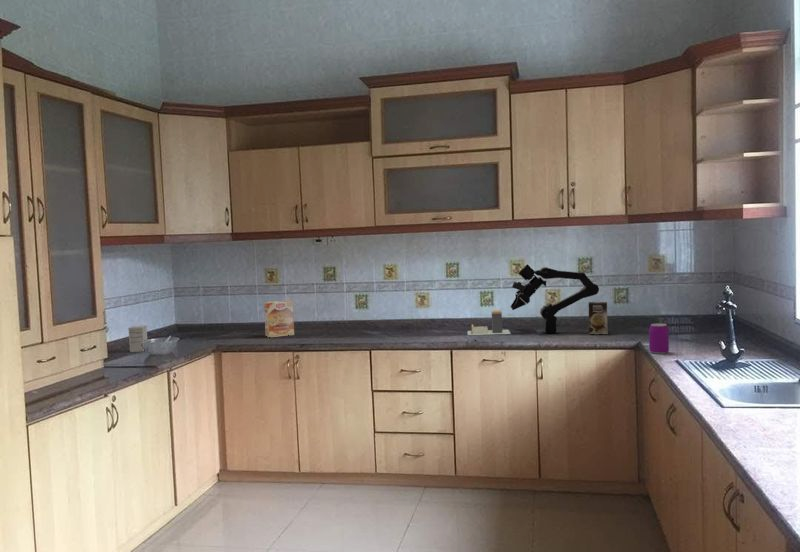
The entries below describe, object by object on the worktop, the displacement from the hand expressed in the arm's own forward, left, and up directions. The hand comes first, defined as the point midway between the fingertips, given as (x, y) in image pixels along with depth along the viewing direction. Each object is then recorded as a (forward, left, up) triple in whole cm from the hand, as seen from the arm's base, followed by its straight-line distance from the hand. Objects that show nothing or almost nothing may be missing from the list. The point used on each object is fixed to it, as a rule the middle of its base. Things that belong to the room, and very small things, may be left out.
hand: (511, 308), depth 360 cm
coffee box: (-23, -36, -14) cm, 45 cm away
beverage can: (-80, -29, -14) cm, 86 cm away
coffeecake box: (+65, +113, -14) cm, 131 cm away
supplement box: (+53, +187, -14) cm, 195 cm away
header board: (+5, +11, -13) cm, 18 cm away
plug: (+3, +7, -12) cm, 15 cm away
